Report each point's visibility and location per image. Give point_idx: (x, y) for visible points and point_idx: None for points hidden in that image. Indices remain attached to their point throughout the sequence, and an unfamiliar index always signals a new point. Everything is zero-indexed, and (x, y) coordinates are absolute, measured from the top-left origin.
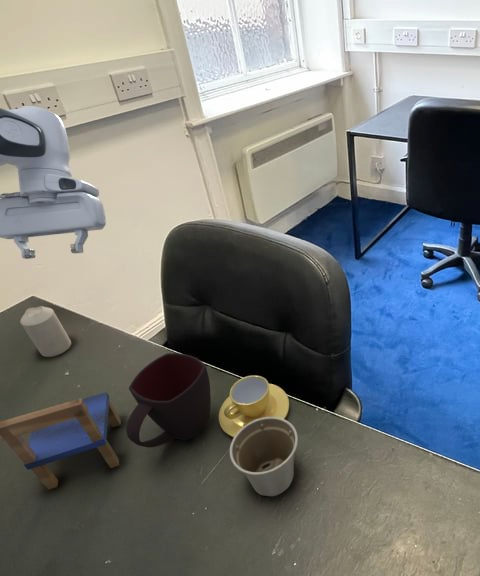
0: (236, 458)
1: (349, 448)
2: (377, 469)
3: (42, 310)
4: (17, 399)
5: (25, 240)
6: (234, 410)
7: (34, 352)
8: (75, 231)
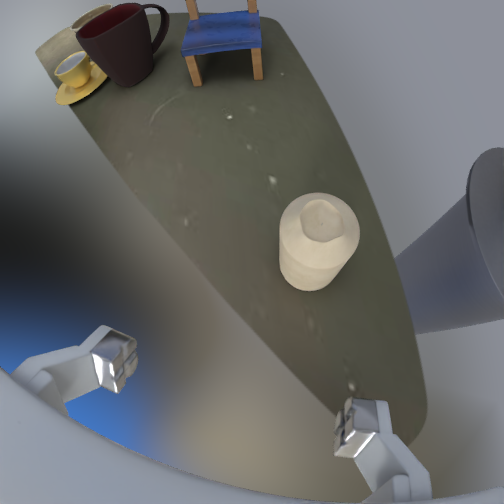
0: None
1: (61, 62)
2: (61, 53)
3: (298, 215)
4: (338, 151)
5: (373, 496)
6: (95, 79)
7: (350, 265)
8: (37, 386)
